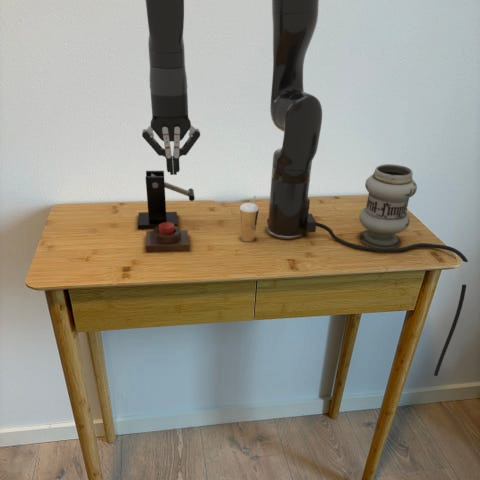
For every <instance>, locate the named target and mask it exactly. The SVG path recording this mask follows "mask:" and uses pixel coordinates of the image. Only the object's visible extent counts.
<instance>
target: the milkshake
mask: <svg viewBox="0 0 480 480" xmlns="http://www.w3.org/2000/svg"><path fill="white" fill-rule="evenodd" d="M255 202H256V195H254V196H253V199H252V202H243V203H242V204H241V205H240V206H239V216H240V237H241V240H242V241H244V242H253V241H254V240H255V238H256V231H257V225H258V217H259V216H258V215H259V210H260V207H259V205H258V204H257V203H255Z"/></svg>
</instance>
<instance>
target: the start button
mask: <svg viewBox="0 0 480 480" xmlns="http://www.w3.org/2000/svg"><path fill="white" fill-rule="evenodd" d="M174 232H175V230H174V224H173V223H170V222H164V223H161V224H159V233H160V234H164V235H169V234H173V233H174Z"/></svg>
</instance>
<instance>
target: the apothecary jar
mask: <svg viewBox="0 0 480 480" xmlns="http://www.w3.org/2000/svg"><path fill="white" fill-rule="evenodd" d="M413 174H414V173H413V170H412V169H411V168H410V167H407V166H404V165H400V164H393V163H392V164H390V163H387V164H386V163H385V164H384V163H383V164H380V165H378V166H376V167H375V169H374V172H373V174H370V175H369V176H368V177H367V179H366V181H365V190H366V191H367V192H368V196H367V201H366V204H365V205H366V206H365V207H364V208H362V210H361V211H360V213H359V215H358V220H359V222H360V225H362V227H363V228H364V229H365V230H363V232H361V233H360V234H359V238H360V240H361V242H362V243H363V244H365V245H366V246H368V247H373V248H398V246H399V245H400V243H401V240H400V238H399V237H398V236H397V234H401V233H402V232H404V231H405V230H407V229H408V227H409V226H410V223H411V219H410V216H409V214H408V213H407V211H408V206H409V202H410V198H412V197H413V196H414V195H415V194H416V193H417V189H418V186H417V183H416V181H415V180H414V179H413Z"/></svg>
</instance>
